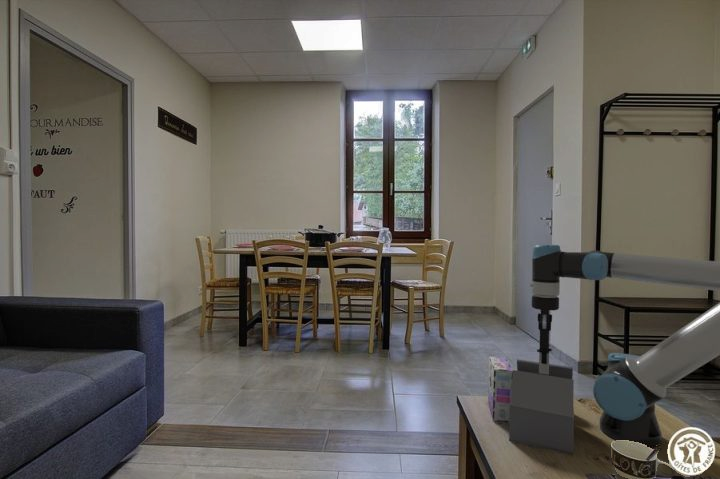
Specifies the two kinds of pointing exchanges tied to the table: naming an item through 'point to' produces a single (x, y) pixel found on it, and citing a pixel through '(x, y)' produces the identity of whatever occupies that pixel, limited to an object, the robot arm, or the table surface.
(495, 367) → the candy box
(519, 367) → the far flap
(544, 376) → the near flap
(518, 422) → the carton
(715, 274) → the robot arm
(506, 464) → the table surface
